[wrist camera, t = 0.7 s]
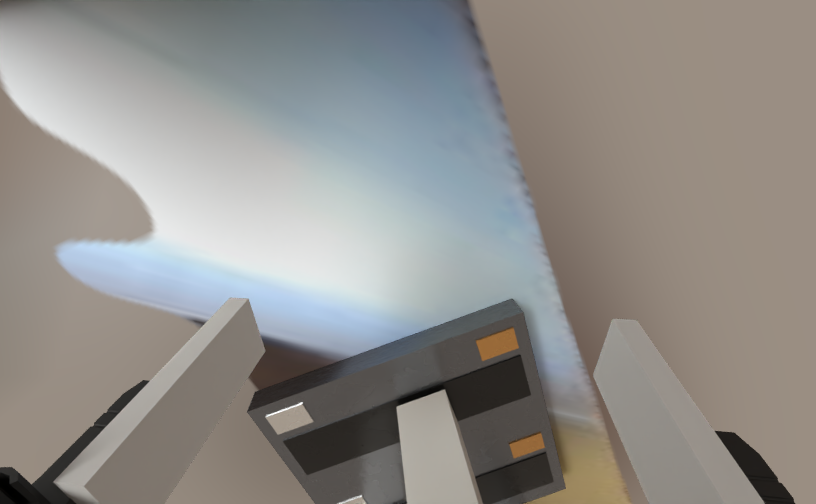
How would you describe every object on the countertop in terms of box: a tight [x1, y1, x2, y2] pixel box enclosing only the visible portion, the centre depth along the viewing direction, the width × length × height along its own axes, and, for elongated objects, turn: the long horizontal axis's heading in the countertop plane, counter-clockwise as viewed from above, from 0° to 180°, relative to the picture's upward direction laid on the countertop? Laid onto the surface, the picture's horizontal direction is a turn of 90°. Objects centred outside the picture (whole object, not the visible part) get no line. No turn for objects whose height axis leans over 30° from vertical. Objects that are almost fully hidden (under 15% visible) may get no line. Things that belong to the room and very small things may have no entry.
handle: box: [397, 389, 483, 504], centre depth 22 cm, size 4×4×12 cm
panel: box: [247, 299, 566, 504], centre depth 30 cm, size 22×22×2 cm
